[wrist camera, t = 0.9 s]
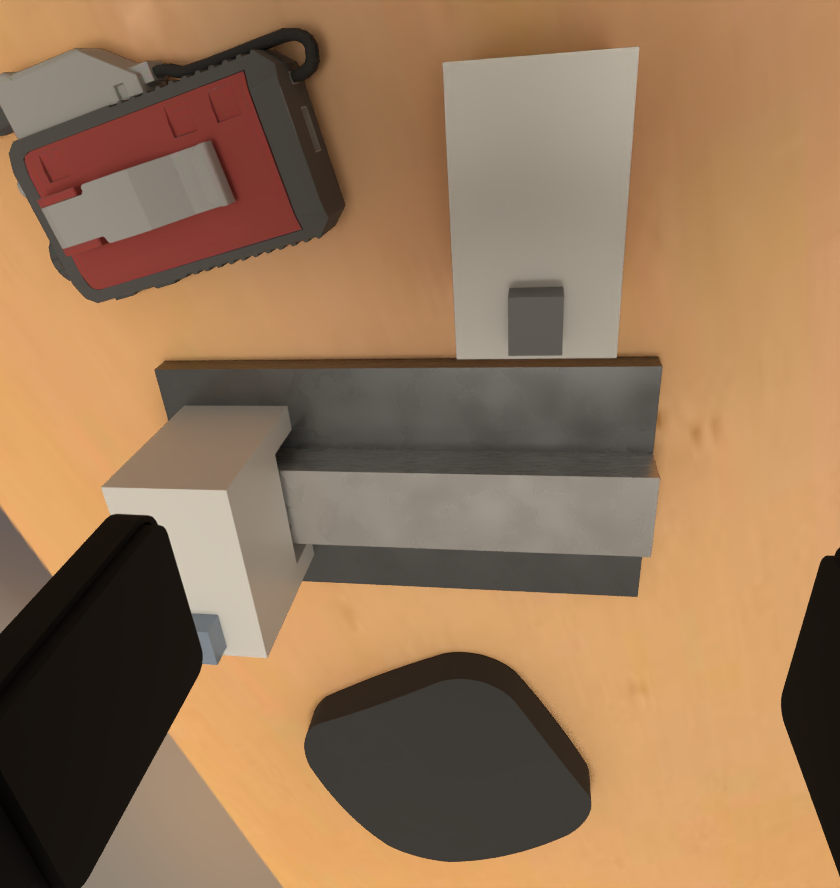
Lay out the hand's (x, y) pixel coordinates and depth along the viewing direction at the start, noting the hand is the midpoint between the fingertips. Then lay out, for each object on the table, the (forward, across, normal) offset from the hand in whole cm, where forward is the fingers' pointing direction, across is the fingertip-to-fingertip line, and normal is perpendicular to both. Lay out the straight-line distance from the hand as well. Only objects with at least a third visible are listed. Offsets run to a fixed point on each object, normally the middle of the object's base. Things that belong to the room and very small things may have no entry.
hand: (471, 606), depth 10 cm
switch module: (+20, -1, -3) cm, 20 cm away
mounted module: (+19, +12, +10) cm, 25 cm away
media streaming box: (+20, +4, +30) cm, 37 cm away
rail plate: (+20, +5, +10) cm, 23 cm away
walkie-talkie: (+21, +16, -4) cm, 26 cm away
